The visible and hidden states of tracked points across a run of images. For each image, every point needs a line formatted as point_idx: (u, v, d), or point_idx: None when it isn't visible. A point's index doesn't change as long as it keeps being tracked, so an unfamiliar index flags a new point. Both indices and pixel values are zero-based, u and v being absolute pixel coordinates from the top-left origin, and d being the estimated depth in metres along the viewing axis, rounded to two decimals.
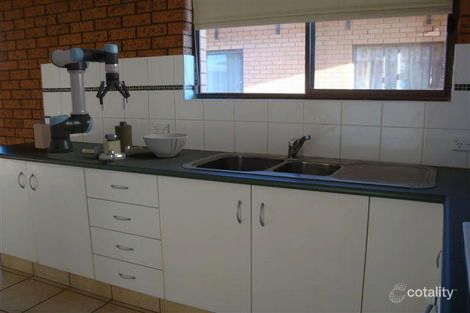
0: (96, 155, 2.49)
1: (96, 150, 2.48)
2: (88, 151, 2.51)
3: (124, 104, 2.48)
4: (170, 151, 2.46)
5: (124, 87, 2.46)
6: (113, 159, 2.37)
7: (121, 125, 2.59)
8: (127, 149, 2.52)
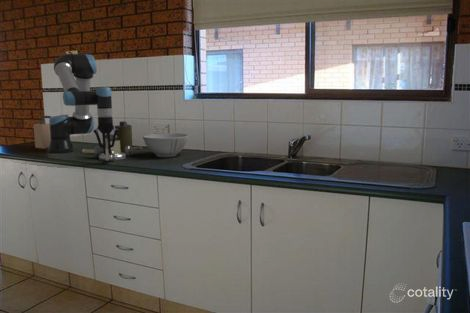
0: (96, 155, 2.49)
1: (96, 150, 2.48)
2: (88, 151, 2.51)
3: None
4: (170, 151, 2.46)
5: (113, 135, 2.28)
6: (113, 159, 2.37)
7: (121, 125, 2.59)
8: (127, 149, 2.52)
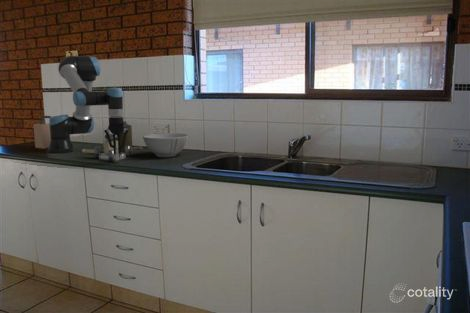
0: (96, 155, 2.49)
1: (96, 150, 2.48)
2: (88, 151, 2.51)
3: None
4: (170, 151, 2.46)
5: (124, 135, 2.29)
6: (114, 159, 2.38)
7: None
8: (127, 149, 2.52)
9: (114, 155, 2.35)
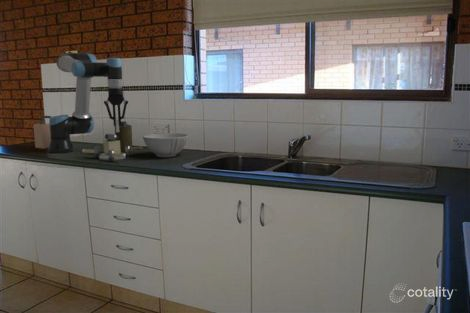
0: (96, 155, 2.49)
1: (96, 150, 2.48)
2: (88, 151, 2.51)
3: None
4: (170, 151, 2.46)
5: (124, 107, 2.27)
6: (114, 159, 2.38)
7: (121, 125, 2.59)
8: (127, 149, 2.52)
9: (115, 155, 2.35)
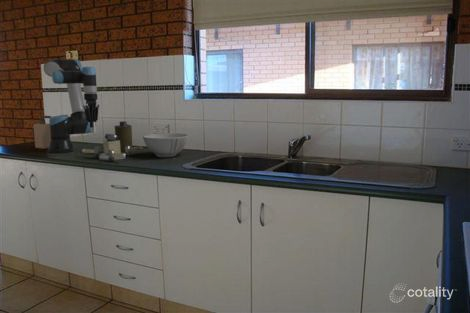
0: (96, 155, 2.49)
1: (96, 150, 2.48)
2: (88, 151, 2.51)
3: None
4: (170, 151, 2.46)
5: None
6: (114, 159, 2.38)
7: (121, 125, 2.59)
8: (127, 149, 2.52)
9: (115, 155, 2.35)
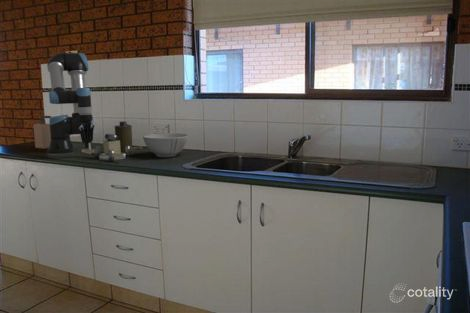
0: (96, 155, 2.49)
1: (96, 150, 2.48)
2: (88, 151, 2.50)
3: None
4: (170, 151, 2.46)
5: None
6: (114, 159, 2.38)
7: (121, 125, 2.59)
8: (127, 149, 2.52)
9: (115, 155, 2.35)
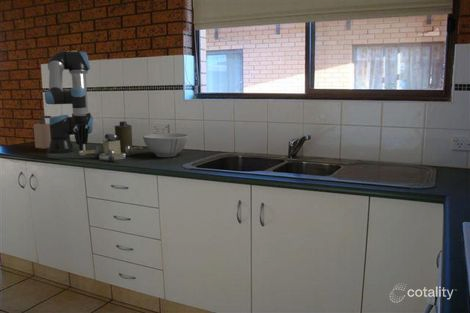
0: (98, 155, 2.49)
1: (98, 150, 2.49)
2: (87, 152, 2.47)
3: None
4: (170, 151, 2.46)
5: None
6: (114, 159, 2.38)
7: (121, 125, 2.59)
8: (127, 149, 2.52)
9: (115, 155, 2.35)
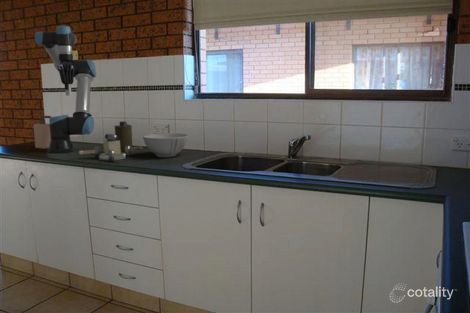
0: (98, 155, 2.49)
1: (98, 150, 2.49)
2: (87, 152, 2.47)
3: None
4: (170, 151, 2.46)
5: None
6: (114, 159, 2.38)
7: (121, 125, 2.59)
8: (127, 149, 2.52)
9: (115, 155, 2.35)
